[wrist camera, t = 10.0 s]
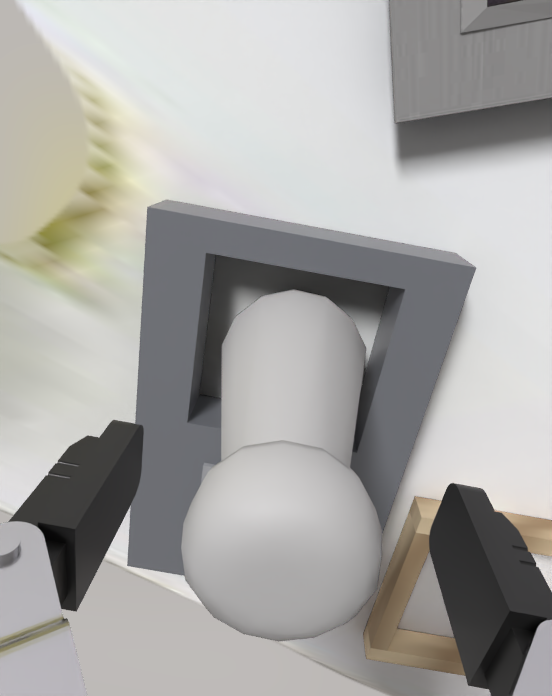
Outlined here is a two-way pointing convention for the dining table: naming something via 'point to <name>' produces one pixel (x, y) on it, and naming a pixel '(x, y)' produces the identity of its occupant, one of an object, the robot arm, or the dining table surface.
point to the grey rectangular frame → (205, 412)
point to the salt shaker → (286, 477)
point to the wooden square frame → (400, 581)
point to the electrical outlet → (468, 55)
